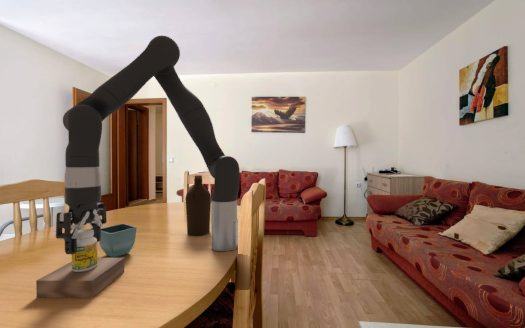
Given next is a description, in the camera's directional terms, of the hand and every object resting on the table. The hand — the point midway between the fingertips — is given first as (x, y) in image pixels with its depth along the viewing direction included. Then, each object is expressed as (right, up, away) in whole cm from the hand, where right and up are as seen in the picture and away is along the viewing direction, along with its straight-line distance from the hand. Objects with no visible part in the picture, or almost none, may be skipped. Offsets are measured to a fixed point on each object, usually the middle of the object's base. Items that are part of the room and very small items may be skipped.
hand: (84, 247), depth 63 cm
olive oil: (+18, -9, +43) cm, 48 cm away
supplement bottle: (0, -6, 0) cm, 6 cm away
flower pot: (-3, -9, +19) cm, 22 cm away
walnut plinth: (0, -9, 0) cm, 9 cm away
